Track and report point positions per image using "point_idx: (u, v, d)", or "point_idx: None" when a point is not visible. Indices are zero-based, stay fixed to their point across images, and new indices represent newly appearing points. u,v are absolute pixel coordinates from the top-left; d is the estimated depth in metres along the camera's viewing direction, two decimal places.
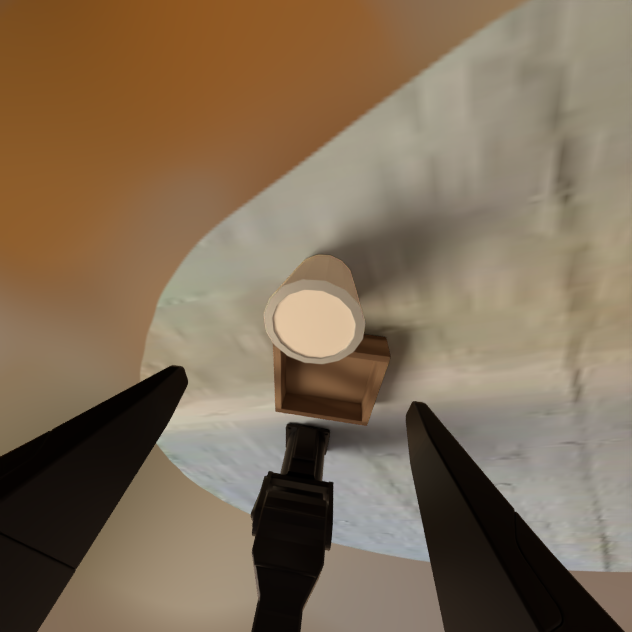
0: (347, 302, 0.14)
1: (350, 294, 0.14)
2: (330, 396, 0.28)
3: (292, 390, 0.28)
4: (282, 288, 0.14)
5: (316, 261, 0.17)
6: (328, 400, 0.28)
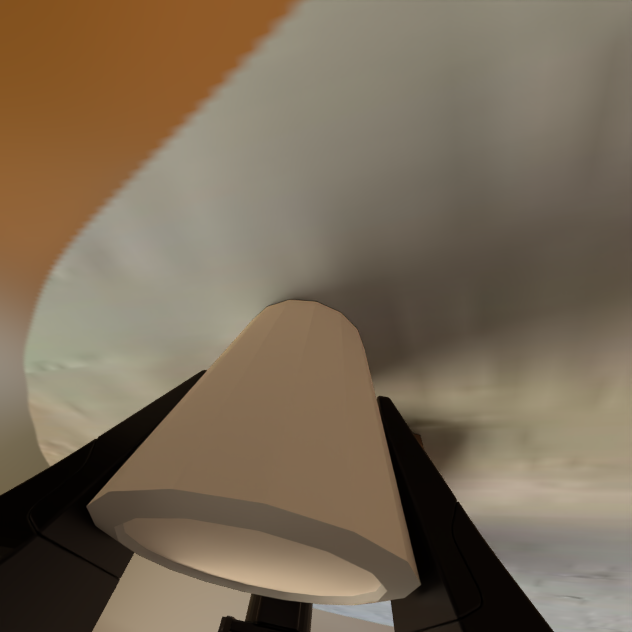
0: (360, 556, 0.04)
1: (372, 527, 0.03)
2: None
3: None
4: (110, 497, 0.04)
5: (278, 329, 0.07)
6: None
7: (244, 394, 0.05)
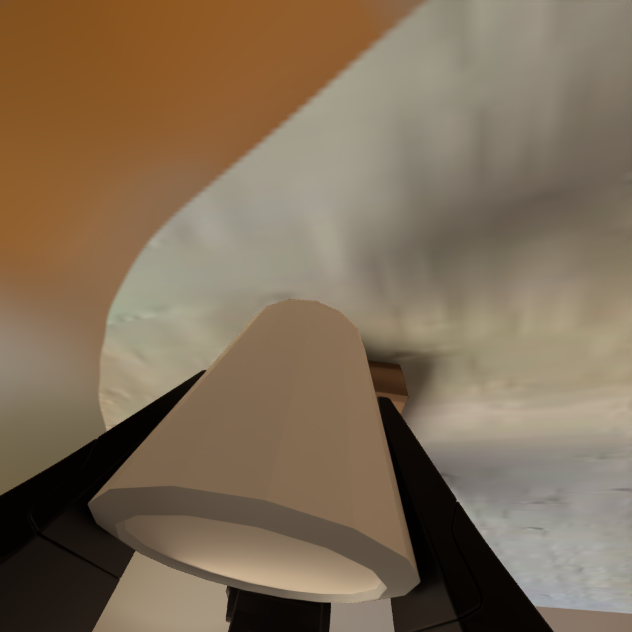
0: (360, 553, 0.04)
1: (372, 524, 0.03)
2: None
3: None
4: (112, 494, 0.04)
5: (278, 328, 0.07)
6: None
7: (244, 392, 0.05)
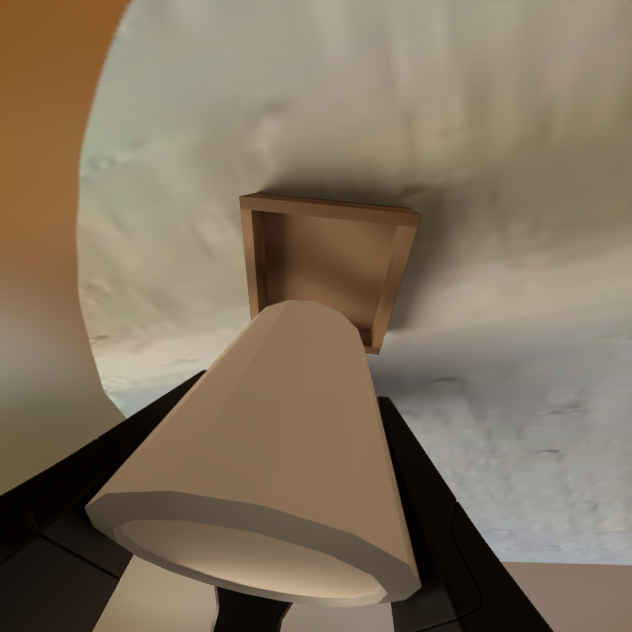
0: (360, 559, 0.03)
1: (372, 530, 0.03)
2: None
3: None
4: (108, 498, 0.04)
5: (278, 329, 0.07)
6: None
7: (243, 395, 0.05)
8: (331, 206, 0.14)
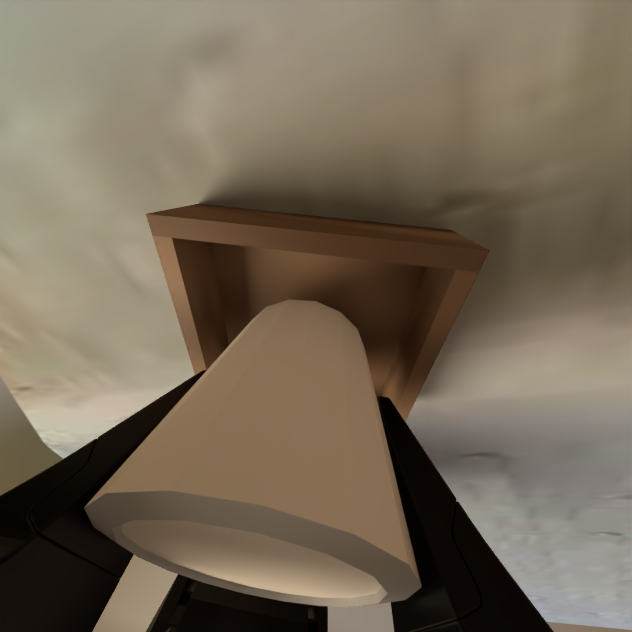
0: (361, 559, 0.03)
1: (373, 529, 0.03)
2: None
3: None
4: (108, 498, 0.04)
5: (277, 329, 0.07)
6: None
7: (243, 394, 0.05)
8: (316, 233, 0.07)
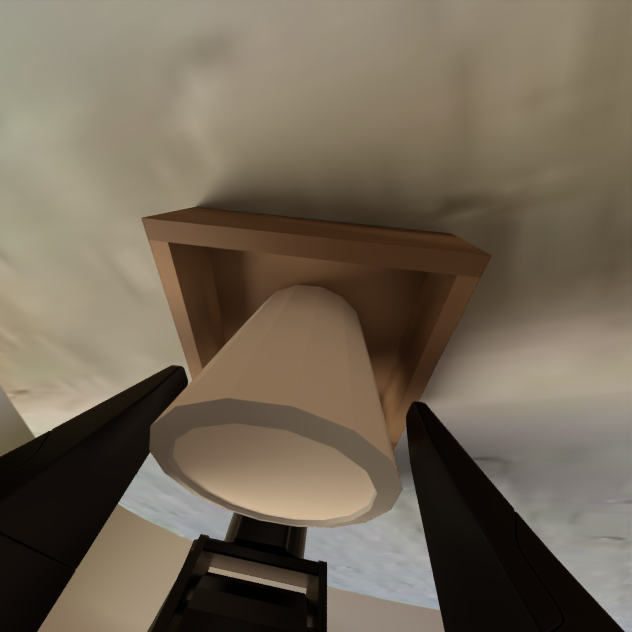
0: (358, 455, 0.05)
1: (367, 434, 0.05)
2: None
3: None
4: (176, 411, 0.05)
5: (290, 306, 0.08)
6: None
7: (269, 348, 0.06)
8: (314, 237, 0.07)
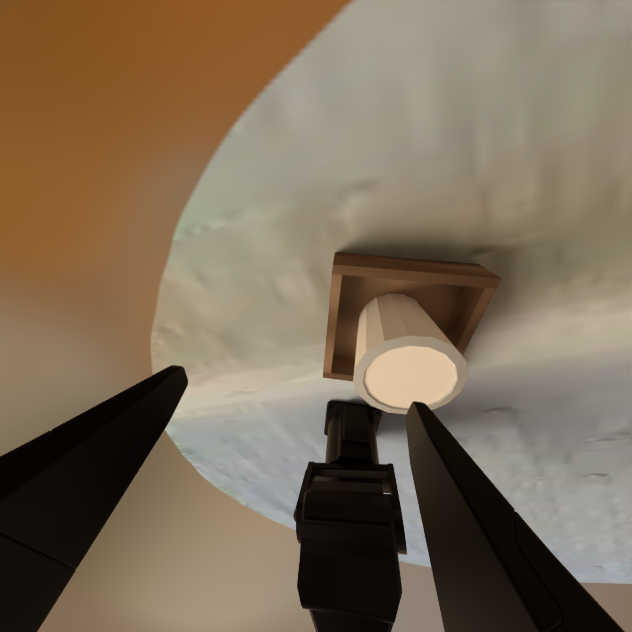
0: (453, 358, 0.13)
1: (457, 350, 0.13)
2: None
3: (341, 352, 0.23)
4: (383, 343, 0.13)
5: (397, 304, 0.16)
6: None
7: (406, 321, 0.14)
8: (417, 272, 0.15)
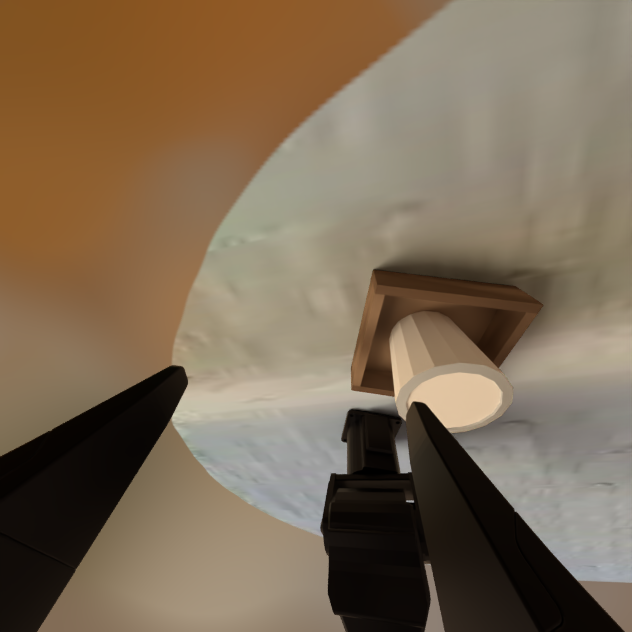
0: (501, 385, 0.13)
1: None
2: None
3: (368, 365, 0.23)
4: (433, 369, 0.13)
5: (437, 325, 0.17)
6: None
7: (452, 345, 0.14)
8: (461, 295, 0.15)
